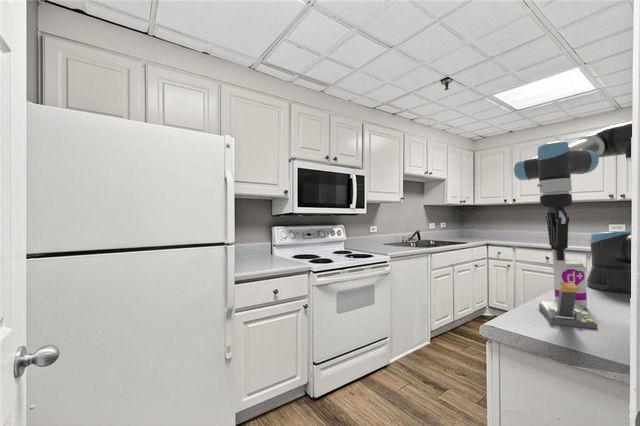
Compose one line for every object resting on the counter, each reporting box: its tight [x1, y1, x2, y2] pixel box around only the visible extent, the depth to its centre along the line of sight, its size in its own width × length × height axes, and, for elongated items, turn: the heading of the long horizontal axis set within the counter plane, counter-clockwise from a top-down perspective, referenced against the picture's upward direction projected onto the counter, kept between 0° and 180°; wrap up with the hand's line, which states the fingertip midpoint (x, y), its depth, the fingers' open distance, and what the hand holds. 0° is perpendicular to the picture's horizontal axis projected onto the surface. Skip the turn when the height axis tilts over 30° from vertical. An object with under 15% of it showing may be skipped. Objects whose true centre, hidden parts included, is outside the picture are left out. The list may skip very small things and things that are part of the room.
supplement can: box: [553, 259, 588, 310], centre depth 96 cm, size 8×8×15 cm
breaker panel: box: [538, 300, 598, 330], centre depth 86 cm, size 10×14×4 cm
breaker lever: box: [555, 282, 577, 318], centre depth 81 cm, size 4×2×11 cm, turn 64°
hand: (559, 270), depth 86 cm, fingers closed
